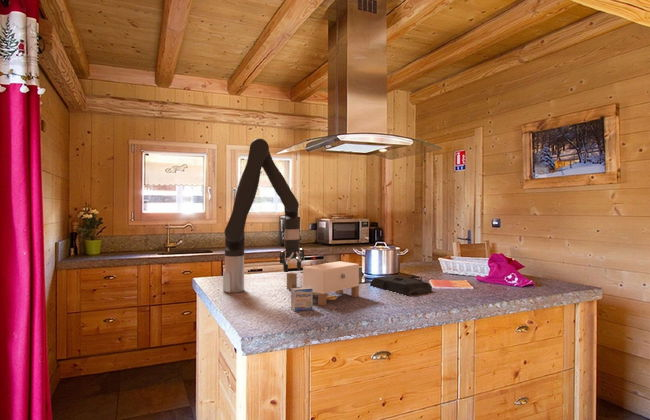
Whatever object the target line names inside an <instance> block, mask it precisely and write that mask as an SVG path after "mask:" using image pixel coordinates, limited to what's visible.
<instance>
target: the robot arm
mask: <svg viewBox="0 0 650 420" xmlns="http://www.w3.org/2000/svg"><path fill="white" fill-rule="evenodd" d="M247 156H248V157H247V161H246V164H245V168H244V169H243V172H242V174H241V177H240V179H239V182H238V185H237V189H236V192H235V197H234V201H233V208H232V211H231V215H230V217H229V219H228V222H227V225H226V226H225V228H224V237H225V238H224V239H225V240H224V241H225V242H224V244H225V246H224V270H223V271H222V292H226V293H229V294H230V293H231V294H232V293H242V292H244V290H245V239H246V238H245V236H246V235H245V228H246V222H247V218H248V216H249V213H250V210H251V207H252V206H253V204H254V201H255V199H256V195H257V192H258V189H259V184H260V179H261V178H260V177H261V171H262V170H264V172H265V175H266V177H267V178H268V180H269V182H270V185H271V186H272V188H273V189H274V192H275V194H276V195H277V196H278V197H279V200H280V202H282V205H283V208H284V209H283V210H284V233H283V235H284V236H283V237H284V243H283V244H284V250H280V252H279V264H282V266H283V269H282V270H283V272H284V273H289V262H290V261H291V260H293V259H295V261H296V270H297V271H299V270H302V262H303V261H305V249H304V248H300V247H301V246H300V240H301V239H300V237H301V236H300V235H301V234H300V220H299V206H300V204H299V203H300V202H299V201H298V199H297V197H296V196H295V195H294V193H293V192H292V190H291V188H290V186H289V183H288V182H287V181H286V179H285V177H284V175H283V173H281V171H280V170H279V168H278V167H277V165H276V163H275V162H274V159H273V158H272V155H271V152H270V146H269V143H268V141H266V139H263V138H260V137H259V138H256V139H253V140H252V142H251V143H250V145H249V151H248V155H247Z"/></svg>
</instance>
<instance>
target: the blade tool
mask: <svg viewBox="0 0 650 420" xmlns="http://www.w3.org/2000/svg"><path fill="white" fill-rule="evenodd" d="M297 279H298V277H297V272H296V273H295V272H286V290H288V292H291V288H302V287H303V286H298V285H297V282H298V280H297ZM326 296H328V293H326ZM313 298H316V299H317V298H318V293H316V292H313Z"/></svg>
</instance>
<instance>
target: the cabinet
mask: <svg viewBox="0 0 650 420" xmlns="http://www.w3.org/2000/svg"><path fill="white" fill-rule="evenodd" d="M359 280H360V264H359V263H353V262H347V261H340V260H339V261H334V262H333V261H331V262H327V263H319V264H312V265H305V266H303V267H302V287H310V288H312V289H313V292H316V293H318V302H317V303H318V306H327V299H326V296H327V295H326V293H327V294H328V293H333V292H335V294H343V293H344V290H346V289H351V291H350V292H351V293H350V295H351V297H352V296H353V298H357V296H358V297H360V296H359V295H360V293H359V292H360V289H359V288H360V281H359Z"/></svg>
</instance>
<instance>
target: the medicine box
mask: <svg viewBox="0 0 650 420" xmlns="http://www.w3.org/2000/svg"><path fill="white" fill-rule="evenodd" d="M301 287H302V288H291V291H290V310H292V311H293V312H303V311H304V312H305V311H311V310H313V304H314V303H313V298H314V297H313V289H312V288H310V287H303V286H301Z"/></svg>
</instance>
